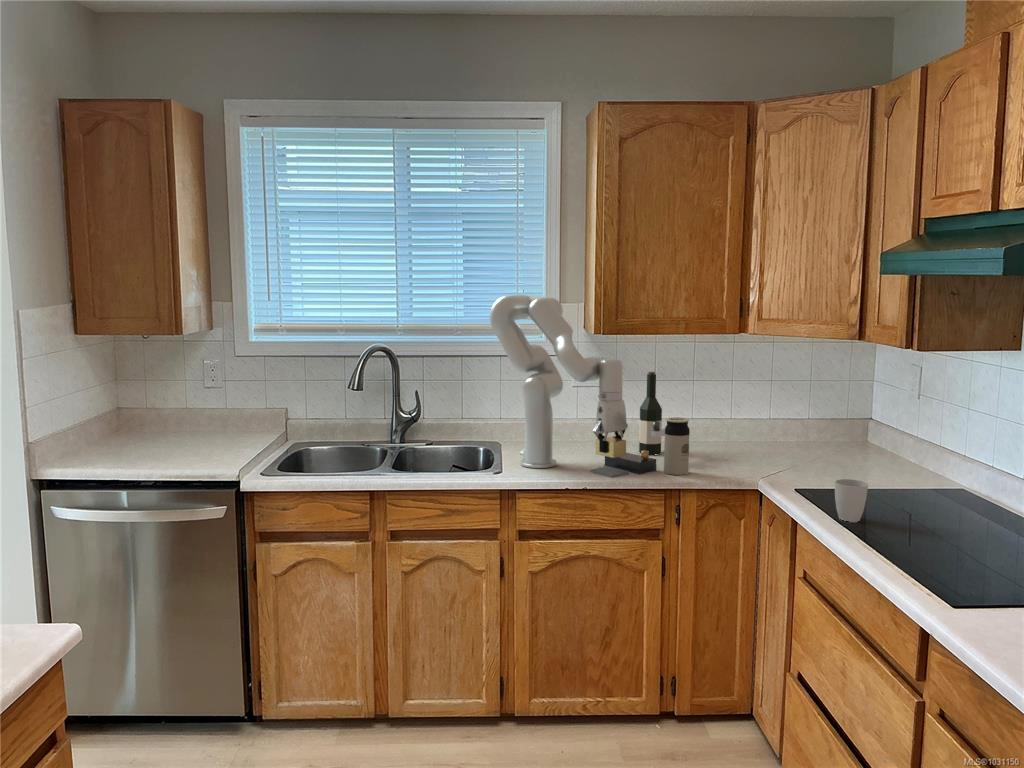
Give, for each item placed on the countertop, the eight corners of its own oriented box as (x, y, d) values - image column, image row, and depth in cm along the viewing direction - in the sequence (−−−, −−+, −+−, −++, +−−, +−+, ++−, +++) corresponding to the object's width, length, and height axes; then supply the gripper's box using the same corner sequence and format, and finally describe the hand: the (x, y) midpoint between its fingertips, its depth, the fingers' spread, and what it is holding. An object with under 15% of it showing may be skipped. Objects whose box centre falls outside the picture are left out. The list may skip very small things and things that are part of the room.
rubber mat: (590, 471, 266) (590, 469, 266) (606, 468, 271) (606, 466, 271) (612, 477, 259) (612, 475, 259) (628, 473, 264) (628, 471, 264)
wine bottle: (635, 454, 294) (636, 372, 290) (642, 449, 301) (644, 370, 297) (657, 456, 290) (659, 373, 286) (664, 452, 297) (666, 371, 293)
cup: (857, 515, 217) (859, 478, 216) (871, 524, 209) (873, 486, 208) (827, 515, 217) (829, 479, 215) (840, 524, 209) (842, 486, 207)
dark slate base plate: (604, 465, 275) (605, 437, 274) (620, 462, 280) (621, 434, 279) (639, 474, 263) (640, 444, 261) (656, 470, 268) (656, 441, 266)
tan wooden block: (595, 454, 265) (595, 439, 265) (608, 451, 269) (608, 436, 268) (613, 457, 259) (613, 442, 258) (626, 455, 263) (626, 440, 262)
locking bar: (650, 436, 278) (650, 422, 278) (680, 430, 288) (680, 417, 288) (655, 437, 276) (656, 423, 276) (685, 431, 286) (685, 418, 286)
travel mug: (658, 471, 267) (660, 418, 265) (678, 469, 270) (679, 416, 268) (673, 476, 260) (674, 421, 257) (693, 474, 263) (694, 420, 261)
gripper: (600, 400, 253) (600, 456, 256) (637, 395, 264) (637, 449, 266) (583, 398, 259) (583, 452, 261) (620, 393, 270) (620, 445, 272)
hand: (610, 450), depth 264 cm, fingers closed on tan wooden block, 6 cm apart
